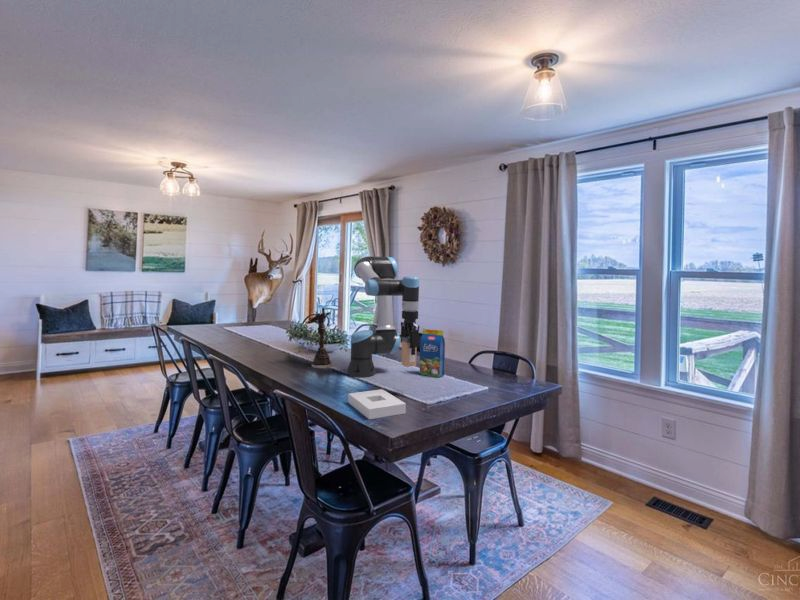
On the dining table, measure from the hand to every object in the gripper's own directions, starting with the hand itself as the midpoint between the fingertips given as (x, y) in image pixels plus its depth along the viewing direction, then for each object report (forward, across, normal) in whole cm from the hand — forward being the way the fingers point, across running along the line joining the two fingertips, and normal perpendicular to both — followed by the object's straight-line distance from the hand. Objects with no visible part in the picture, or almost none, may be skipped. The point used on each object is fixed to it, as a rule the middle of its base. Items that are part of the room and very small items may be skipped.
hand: (408, 360), depth 194 cm
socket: (+15, +12, -22) cm, 30 cm away
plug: (+2, 0, 0) cm, 2 cm away
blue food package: (+16, -24, +28) cm, 40 cm away
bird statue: (+16, -70, -22) cm, 75 cm away
